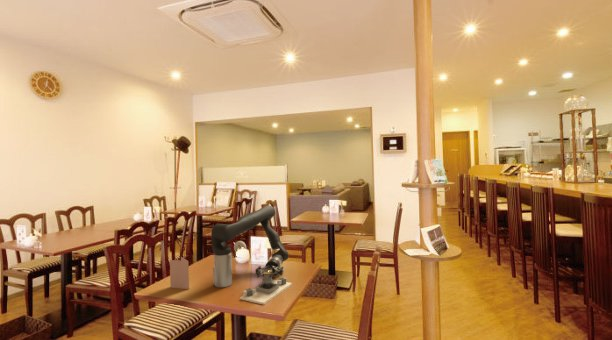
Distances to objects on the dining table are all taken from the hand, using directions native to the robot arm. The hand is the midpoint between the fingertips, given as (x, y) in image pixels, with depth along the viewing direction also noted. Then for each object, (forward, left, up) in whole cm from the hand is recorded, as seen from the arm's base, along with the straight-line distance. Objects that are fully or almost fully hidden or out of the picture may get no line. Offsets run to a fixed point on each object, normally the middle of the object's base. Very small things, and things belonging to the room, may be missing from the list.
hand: (266, 275), depth 152 cm
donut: (-59, +50, -9) cm, 77 cm away
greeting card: (-48, -13, -9) cm, 50 cm away
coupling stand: (-1, +2, -9) cm, 9 cm away
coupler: (-1, +2, -8) cm, 8 cm away
